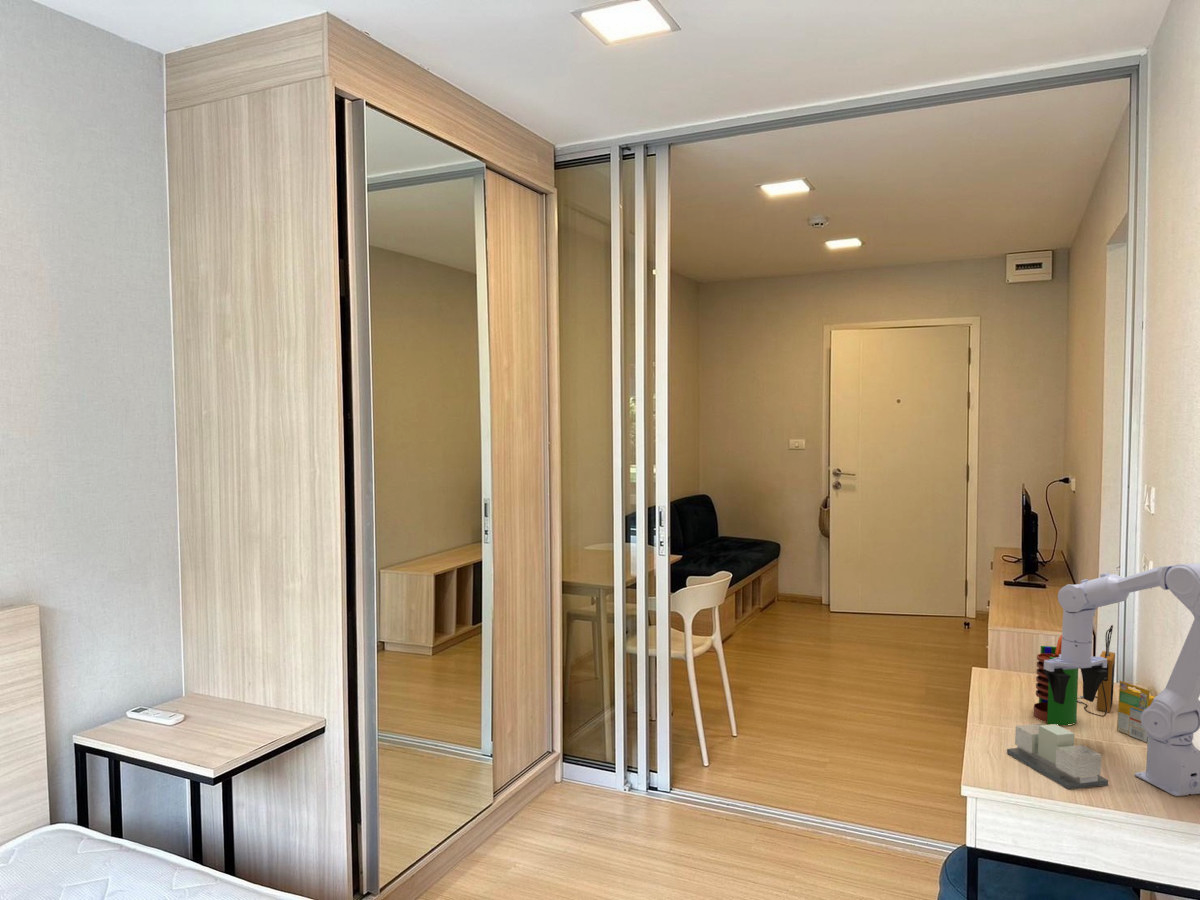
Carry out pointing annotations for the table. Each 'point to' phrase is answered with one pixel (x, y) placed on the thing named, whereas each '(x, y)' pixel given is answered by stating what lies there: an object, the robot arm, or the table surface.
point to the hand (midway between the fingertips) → (1073, 701)
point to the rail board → (1052, 771)
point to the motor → (1047, 705)
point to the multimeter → (1106, 680)
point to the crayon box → (1132, 710)
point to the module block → (1053, 740)
